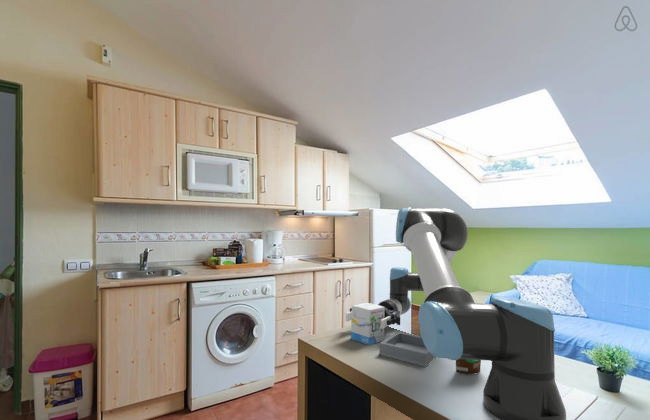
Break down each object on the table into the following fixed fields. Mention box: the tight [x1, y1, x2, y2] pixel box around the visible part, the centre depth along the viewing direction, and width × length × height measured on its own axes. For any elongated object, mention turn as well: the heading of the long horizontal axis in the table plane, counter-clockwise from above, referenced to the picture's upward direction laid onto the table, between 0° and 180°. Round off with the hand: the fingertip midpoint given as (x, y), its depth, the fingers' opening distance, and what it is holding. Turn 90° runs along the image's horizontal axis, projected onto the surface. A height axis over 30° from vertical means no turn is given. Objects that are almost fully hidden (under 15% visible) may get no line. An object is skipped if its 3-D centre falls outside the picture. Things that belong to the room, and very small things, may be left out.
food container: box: [455, 359, 482, 375], centre depth 91 cm, size 12×6×10 cm, turn 143°
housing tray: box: [378, 331, 436, 367], centre depth 102 cm, size 14×14×4 cm
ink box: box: [350, 302, 385, 346], centre depth 114 cm, size 8×8×12 cm
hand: (363, 320), depth 112 cm, fingers open, 13 cm apart
